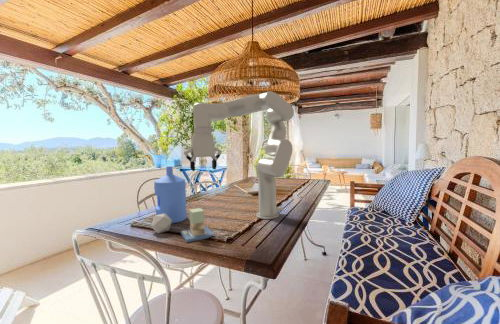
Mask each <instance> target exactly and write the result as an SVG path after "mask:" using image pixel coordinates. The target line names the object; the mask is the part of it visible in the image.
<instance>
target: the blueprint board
mask: <svg viewBox="0 0 500 324" xmlns="http://www.w3.org/2000/svg"><path fill="white" fill-rule="evenodd" d="M180 235H181V236H182V238H183V239H184V241H185V242H186V243H191V242H195V241H196V242H197V241H200V240H201V241H202V240H205V239H209V237H210V236H213V235H214V236H215V234H214V232H213V231H212V230H211V229H210V228H209V227H208V226H207V225H204V233H203V234H198V235H192V233H191V232H190V228H189V229H188V228H187V229H182V230H180Z"/></svg>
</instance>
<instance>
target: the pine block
mask: <svg viewBox="0 0 500 324" xmlns="http://www.w3.org/2000/svg"><path fill="white" fill-rule="evenodd" d="M204 226H205V221H204V222H202V223H196V224H192V223H191V222H190V221H189V229H190V232H191V233H192V235H198V234H203V233H204Z"/></svg>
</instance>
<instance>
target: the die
mask: <svg viewBox="0 0 500 324" xmlns="http://www.w3.org/2000/svg"><path fill="white" fill-rule="evenodd" d="M171 223H172V220H171V219H170V218H169V217H168V216H167V215H166V213H164V214H159V215H156V214H155V215H154V216H153V219H152V222H151V223H150V227H151V229H153V230H154V231H155V232H156V234H162V233H165V232H169V231H170V229H171V226H172V224H171Z"/></svg>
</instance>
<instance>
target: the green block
mask: <svg viewBox="0 0 500 324" xmlns="http://www.w3.org/2000/svg"><path fill="white" fill-rule="evenodd" d="M190 222H191V223H192V224H196V223H202V222H204V223H205V211H204V210H203V209H202V208H201V207H199V208H193V209H192V208H191V209H189V223H190Z"/></svg>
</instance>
